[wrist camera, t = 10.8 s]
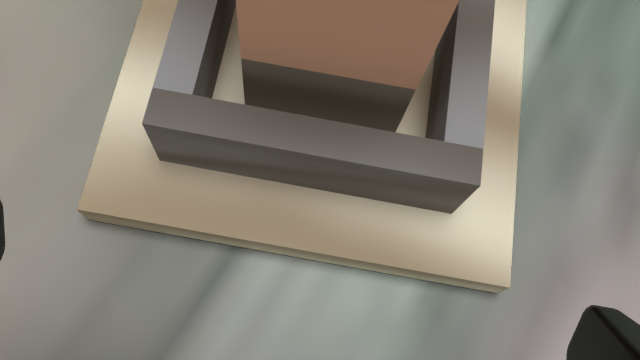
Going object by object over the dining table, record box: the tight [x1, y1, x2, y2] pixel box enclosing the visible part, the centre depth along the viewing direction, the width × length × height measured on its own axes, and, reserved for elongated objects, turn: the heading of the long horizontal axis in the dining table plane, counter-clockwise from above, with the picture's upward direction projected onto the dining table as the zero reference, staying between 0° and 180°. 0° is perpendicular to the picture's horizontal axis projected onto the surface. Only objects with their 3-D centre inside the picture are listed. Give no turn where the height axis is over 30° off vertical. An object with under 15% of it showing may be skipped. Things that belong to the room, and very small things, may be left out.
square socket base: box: [77, 0, 527, 293], centre depth 18 cm, size 12×12×4 cm
